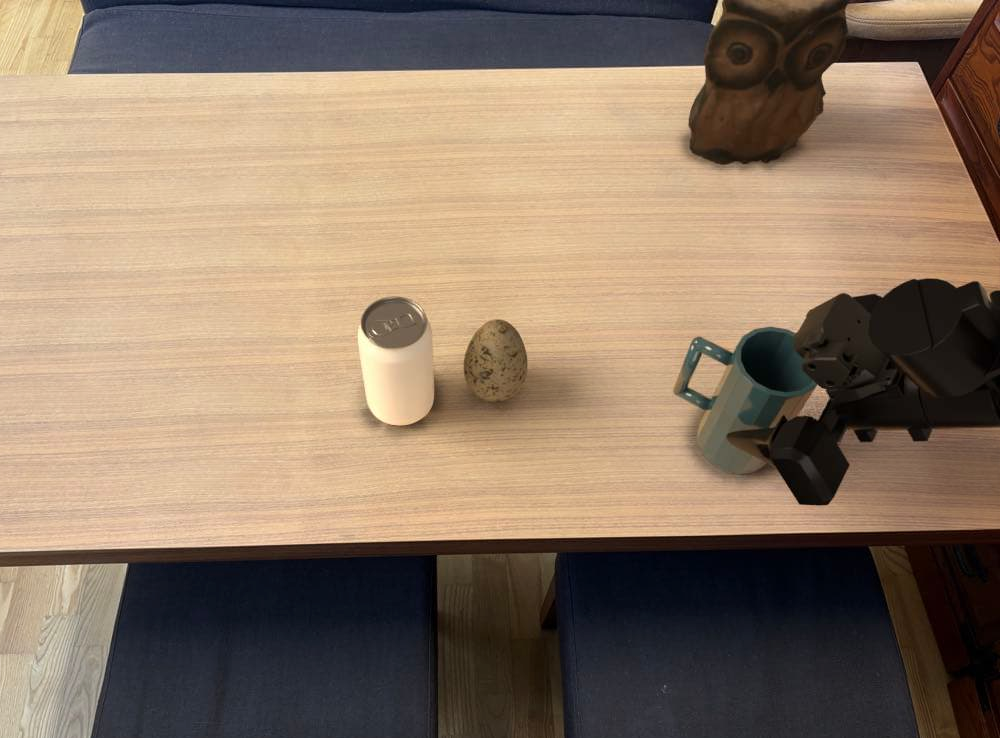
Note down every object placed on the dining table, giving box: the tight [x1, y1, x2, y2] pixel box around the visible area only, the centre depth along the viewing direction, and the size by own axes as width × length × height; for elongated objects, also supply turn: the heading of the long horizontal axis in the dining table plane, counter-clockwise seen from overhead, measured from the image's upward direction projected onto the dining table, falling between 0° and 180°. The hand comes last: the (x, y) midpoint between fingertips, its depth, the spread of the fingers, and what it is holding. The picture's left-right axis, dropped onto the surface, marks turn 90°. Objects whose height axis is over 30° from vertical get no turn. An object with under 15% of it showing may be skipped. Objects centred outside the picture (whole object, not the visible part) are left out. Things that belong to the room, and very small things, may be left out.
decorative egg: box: [463, 318, 529, 403], centre depth 78 cm, size 6×6×10 cm
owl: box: [687, 0, 852, 166], centre depth 94 cm, size 13×13×20 cm
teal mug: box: [672, 326, 819, 475], centre depth 75 cm, size 10×7×13 cm, turn 56°
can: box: [357, 295, 435, 426], centre depth 77 cm, size 6×6×12 cm
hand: (750, 401), depth 74 cm, fingers open, 9 cm apart
